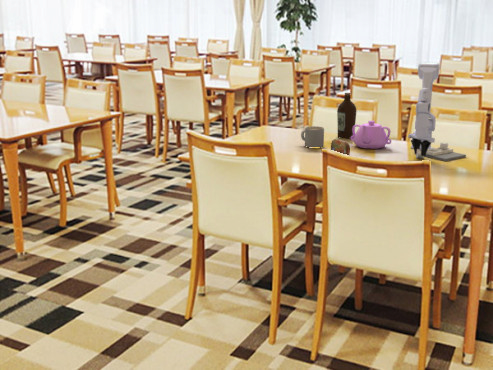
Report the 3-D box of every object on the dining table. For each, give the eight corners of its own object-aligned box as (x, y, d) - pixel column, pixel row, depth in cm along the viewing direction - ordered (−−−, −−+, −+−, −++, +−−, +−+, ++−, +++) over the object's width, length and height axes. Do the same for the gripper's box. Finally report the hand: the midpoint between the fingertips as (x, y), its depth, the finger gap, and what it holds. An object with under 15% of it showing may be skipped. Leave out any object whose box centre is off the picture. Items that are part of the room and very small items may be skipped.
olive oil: (347, 134, 353) (349, 91, 346) (359, 137, 344) (361, 93, 337) (332, 136, 348) (334, 92, 341) (344, 139, 339) (345, 94, 332)
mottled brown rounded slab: (330, 154, 304) (330, 137, 302) (335, 153, 305) (336, 137, 303) (345, 160, 290) (345, 143, 288) (350, 160, 292) (351, 142, 289)
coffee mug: (327, 147, 320) (328, 128, 318) (313, 149, 315) (313, 130, 312) (310, 143, 331) (311, 124, 328) (296, 145, 326) (296, 126, 323)
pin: (414, 157, 294) (415, 148, 293) (419, 156, 296) (420, 147, 295) (420, 159, 291) (420, 149, 290) (425, 158, 293) (426, 148, 292)
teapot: (342, 149, 314) (343, 123, 310) (355, 142, 333) (356, 116, 329) (384, 153, 304) (385, 126, 300) (395, 145, 323) (396, 119, 319)
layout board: (418, 155, 300) (419, 144, 299) (439, 151, 308) (440, 141, 307) (445, 161, 288) (446, 150, 286) (466, 157, 296) (467, 146, 294)
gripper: (404, 125, 293) (402, 153, 297) (428, 130, 282) (426, 158, 285) (414, 124, 297) (412, 151, 301) (438, 128, 285) (436, 156, 289)
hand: (420, 154), depth 293 cm, fingers closed on pin, 4 cm apart
